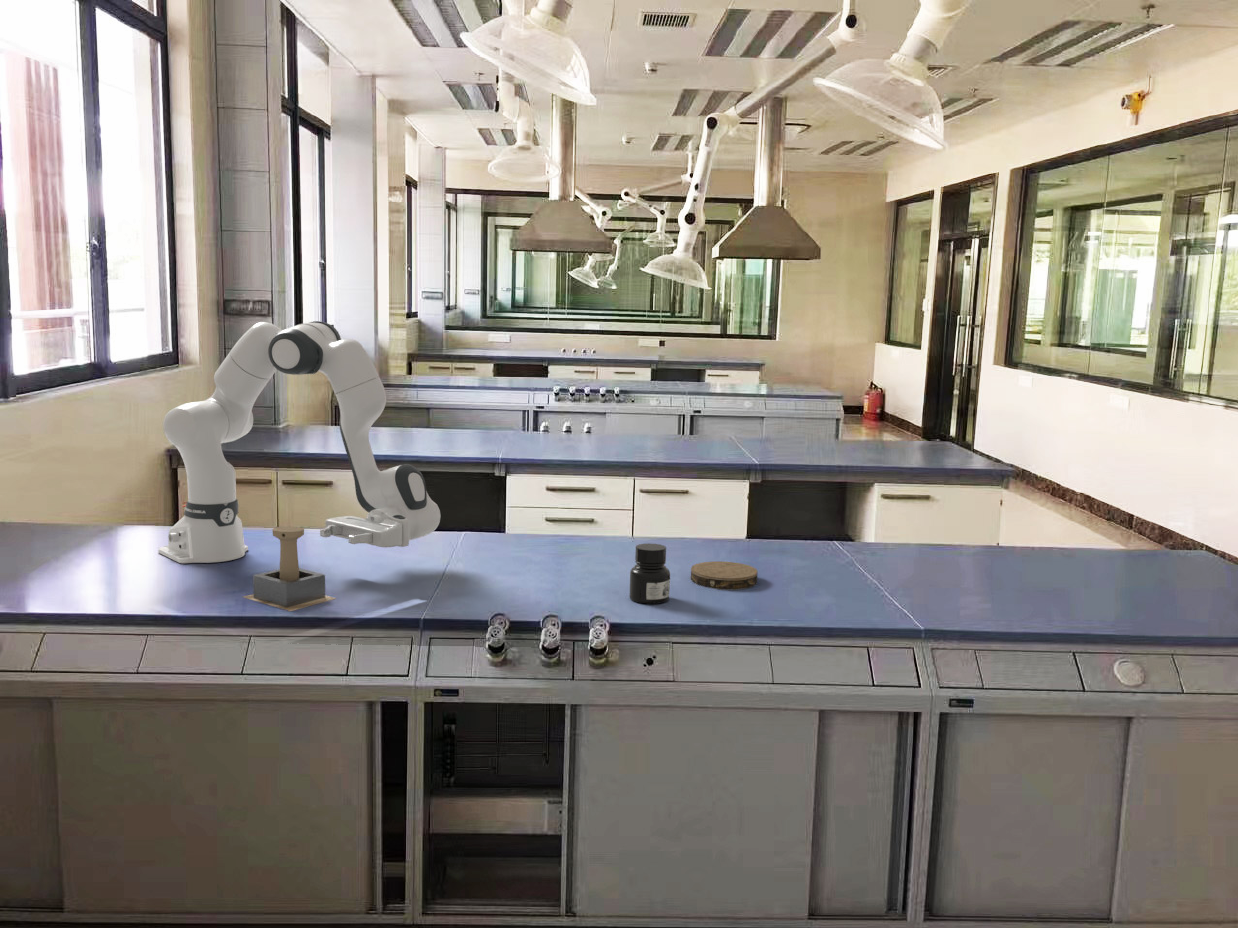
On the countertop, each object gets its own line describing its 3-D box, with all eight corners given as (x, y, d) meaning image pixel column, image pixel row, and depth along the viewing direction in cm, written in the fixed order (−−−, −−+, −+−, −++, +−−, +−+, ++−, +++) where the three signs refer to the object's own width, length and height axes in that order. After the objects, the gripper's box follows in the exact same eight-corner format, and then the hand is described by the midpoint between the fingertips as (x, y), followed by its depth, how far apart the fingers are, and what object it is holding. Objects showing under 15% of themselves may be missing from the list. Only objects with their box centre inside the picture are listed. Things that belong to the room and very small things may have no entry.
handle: (299, 601, 221) (297, 532, 219) (270, 599, 222) (268, 530, 220) (309, 595, 226) (307, 527, 224) (280, 593, 227) (278, 525, 224)
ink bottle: (655, 607, 227) (657, 554, 226) (621, 600, 232) (622, 548, 230) (677, 597, 236) (679, 545, 234) (643, 591, 240) (645, 540, 238)
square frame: (253, 597, 223) (253, 575, 222) (292, 588, 231) (291, 566, 230) (286, 607, 217) (286, 584, 216) (325, 597, 225) (324, 574, 224)
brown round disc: (700, 570, 261) (701, 558, 261) (763, 577, 256) (764, 565, 256) (682, 585, 247) (682, 573, 246) (748, 593, 241) (749, 581, 241)
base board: (242, 601, 224) (242, 596, 224) (289, 589, 234) (288, 585, 233) (290, 615, 215) (290, 611, 215) (336, 602, 225) (336, 598, 224)
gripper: (353, 507, 250) (305, 516, 238) (413, 520, 238) (366, 529, 227) (353, 533, 251) (306, 543, 239) (413, 547, 239) (367, 558, 228)
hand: (336, 536), depth 233 cm, fingers open, 8 cm apart
